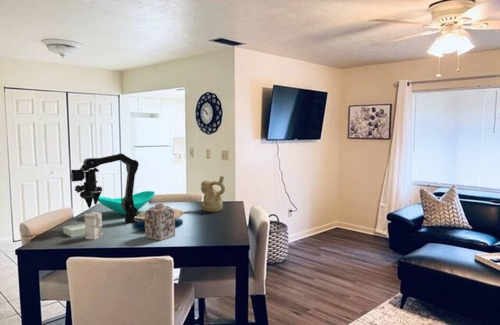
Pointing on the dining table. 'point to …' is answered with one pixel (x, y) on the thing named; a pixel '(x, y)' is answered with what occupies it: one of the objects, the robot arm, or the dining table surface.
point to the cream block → (93, 225)
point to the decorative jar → (159, 222)
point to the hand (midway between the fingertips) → (92, 205)
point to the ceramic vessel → (212, 195)
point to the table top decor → (114, 204)
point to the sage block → (74, 230)
